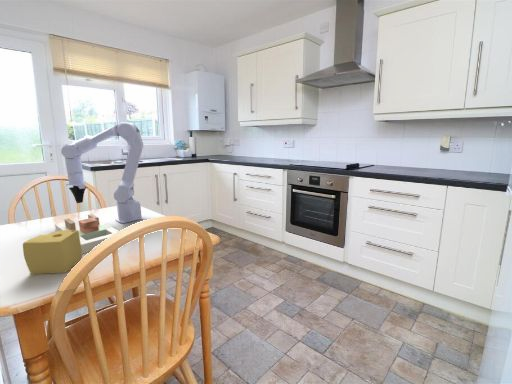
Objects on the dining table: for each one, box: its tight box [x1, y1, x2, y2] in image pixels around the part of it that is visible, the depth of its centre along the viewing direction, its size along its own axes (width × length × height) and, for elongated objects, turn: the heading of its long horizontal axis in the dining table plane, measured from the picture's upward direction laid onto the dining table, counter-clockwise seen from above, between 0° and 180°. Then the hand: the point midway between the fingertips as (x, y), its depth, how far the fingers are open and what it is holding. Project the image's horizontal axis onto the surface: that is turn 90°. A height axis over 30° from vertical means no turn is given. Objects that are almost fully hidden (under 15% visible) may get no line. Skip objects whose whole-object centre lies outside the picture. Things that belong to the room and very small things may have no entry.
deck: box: [54, 213, 119, 254], centre depth 110 cm, size 14×33×6 cm, turn 47°
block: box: [79, 218, 99, 234], centre depth 107 cm, size 5×5×4 cm
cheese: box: [22, 230, 83, 275], centre depth 84 cm, size 10×11×10 cm
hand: (79, 202), depth 125 cm, fingers closed
